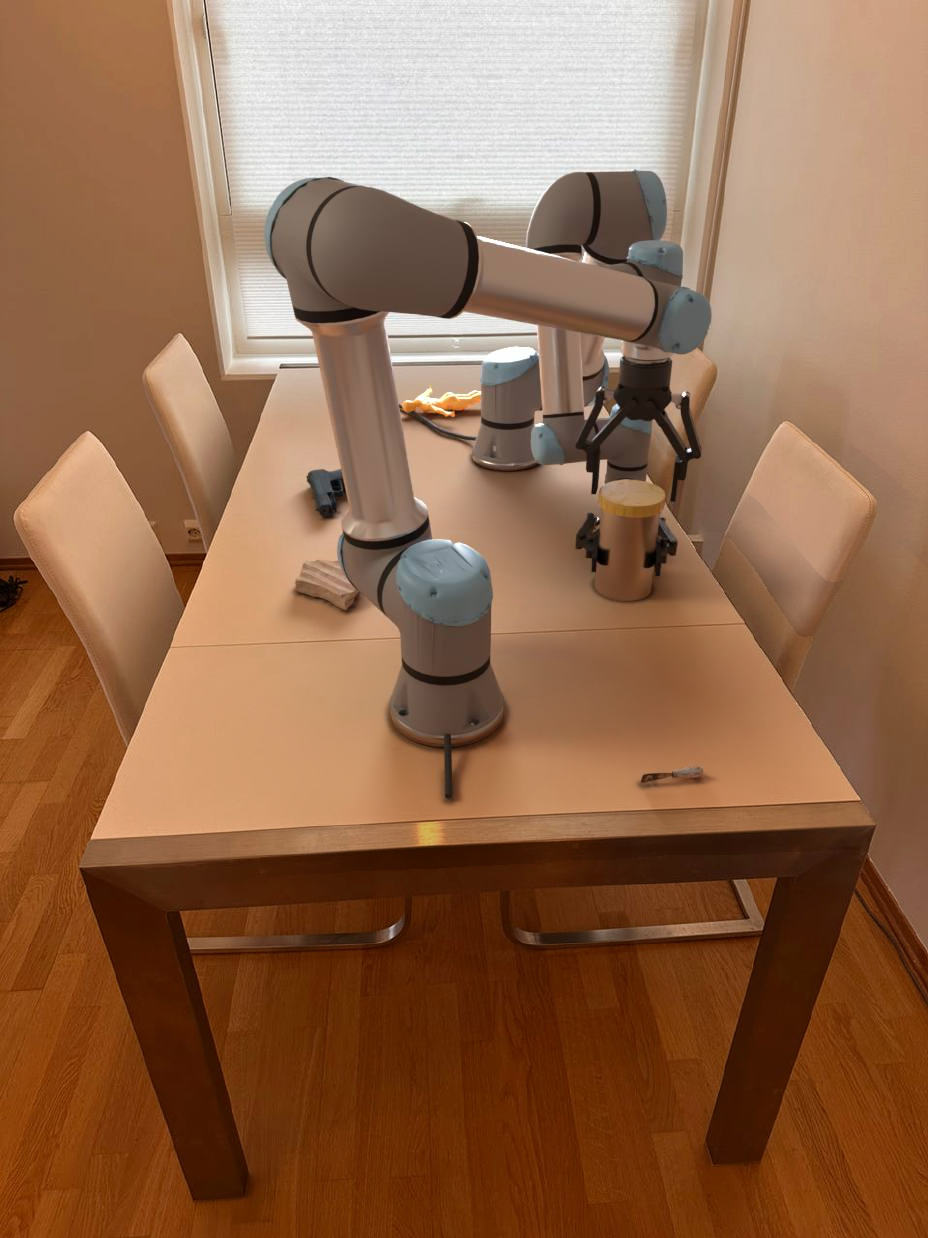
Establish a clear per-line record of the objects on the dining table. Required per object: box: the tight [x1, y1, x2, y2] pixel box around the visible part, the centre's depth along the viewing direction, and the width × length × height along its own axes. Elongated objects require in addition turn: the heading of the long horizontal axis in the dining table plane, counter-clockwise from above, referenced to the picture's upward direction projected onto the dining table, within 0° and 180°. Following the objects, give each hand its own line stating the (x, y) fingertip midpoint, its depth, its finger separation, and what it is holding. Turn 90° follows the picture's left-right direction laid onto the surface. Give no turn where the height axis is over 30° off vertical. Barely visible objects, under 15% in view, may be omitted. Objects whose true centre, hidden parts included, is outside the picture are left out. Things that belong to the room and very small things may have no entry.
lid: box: [597, 480, 667, 518], centre depth 141 cm, size 10×10×2 cm
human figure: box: [401, 385, 481, 418], centre depth 225 cm, size 20×20×4 cm
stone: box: [294, 559, 360, 611], centre depth 149 cm, size 13×12×3 cm
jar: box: [593, 507, 661, 602], centre depth 145 cm, size 9×9×17 cm
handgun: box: [305, 468, 346, 518], centre depth 180 cm, size 3×18×12 cm
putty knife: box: [640, 765, 705, 784], centre depth 109 cm, size 1×8×2 cm, turn 103°
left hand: (633, 494), depth 141 cm, fingers open, 12 cm apart
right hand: (626, 566), depth 143 cm, fingers closed on jar, 9 cm apart
